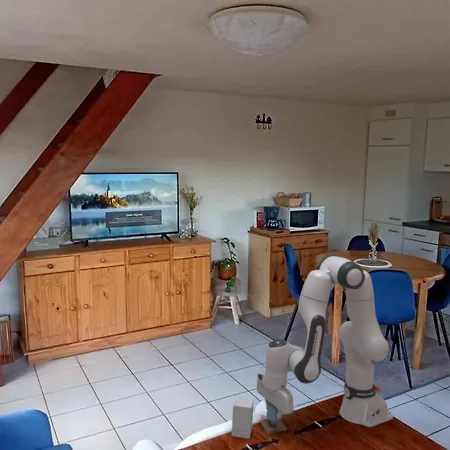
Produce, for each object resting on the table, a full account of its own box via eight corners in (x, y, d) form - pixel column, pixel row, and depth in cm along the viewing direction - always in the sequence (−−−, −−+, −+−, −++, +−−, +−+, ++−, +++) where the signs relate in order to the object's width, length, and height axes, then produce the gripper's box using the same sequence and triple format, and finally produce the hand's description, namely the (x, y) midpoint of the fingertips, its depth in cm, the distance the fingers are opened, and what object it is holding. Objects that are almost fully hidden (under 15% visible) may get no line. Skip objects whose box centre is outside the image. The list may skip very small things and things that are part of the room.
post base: (277, 420, 186) (278, 409, 186) (286, 430, 179) (287, 420, 178) (259, 423, 184) (260, 412, 183) (268, 434, 176) (268, 423, 176)
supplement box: (249, 439, 173) (251, 408, 171) (231, 436, 174) (232, 405, 172) (252, 428, 180) (254, 398, 178) (234, 425, 181) (235, 396, 180)
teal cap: (274, 412, 184) (275, 401, 183) (281, 418, 180) (282, 407, 179) (264, 415, 182) (265, 403, 181) (271, 421, 177) (272, 409, 177)
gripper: (298, 390, 171) (296, 424, 173) (267, 368, 189) (265, 400, 191) (285, 394, 168) (283, 428, 170) (254, 371, 186) (253, 403, 187)
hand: (273, 413), depth 180 cm, fingers closed on teal cap, 5 cm apart
